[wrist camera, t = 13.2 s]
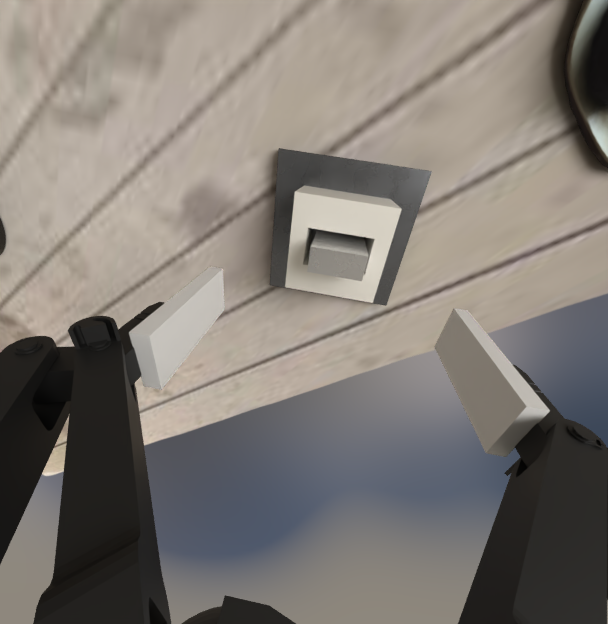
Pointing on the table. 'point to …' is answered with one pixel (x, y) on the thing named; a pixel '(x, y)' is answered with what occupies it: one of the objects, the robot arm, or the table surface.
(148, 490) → the robot arm
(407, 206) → the shaft base
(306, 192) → the square block with hole
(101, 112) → the table surface
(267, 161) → the table surface
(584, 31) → the salad plate
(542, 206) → the table surface
